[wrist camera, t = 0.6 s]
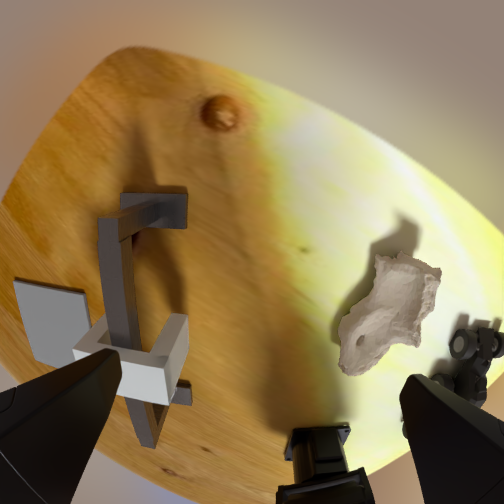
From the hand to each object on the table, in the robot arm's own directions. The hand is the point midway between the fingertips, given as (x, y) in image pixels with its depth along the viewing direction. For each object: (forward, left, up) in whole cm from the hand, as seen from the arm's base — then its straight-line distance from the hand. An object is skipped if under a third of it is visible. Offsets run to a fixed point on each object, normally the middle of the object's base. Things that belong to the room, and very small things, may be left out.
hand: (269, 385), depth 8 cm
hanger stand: (-6, +8, -14) cm, 17 cm away
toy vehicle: (-14, -23, -14) cm, 31 cm away
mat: (-10, +20, -14) cm, 26 cm away
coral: (-4, -10, -14) cm, 17 cm away
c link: (-6, +8, -12) cm, 15 cm away
